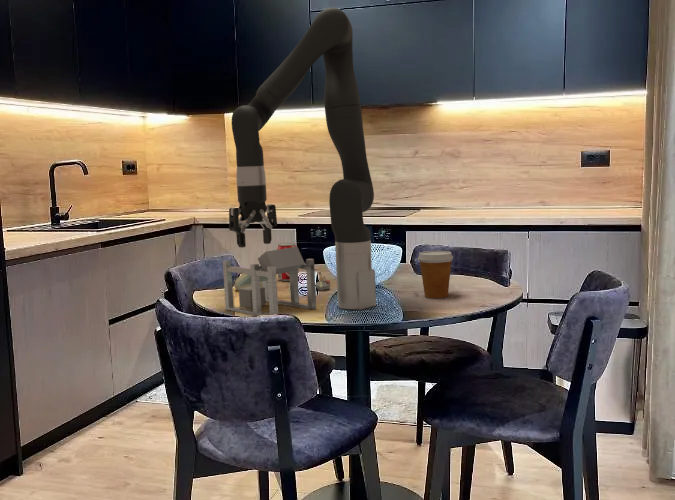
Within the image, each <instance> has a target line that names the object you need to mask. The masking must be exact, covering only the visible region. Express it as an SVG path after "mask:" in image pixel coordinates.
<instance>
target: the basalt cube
mask: <svg viewBox="0 0 675 500" xmlns="http://www.w3.org/2000/svg"><path fill="white" fill-rule="evenodd" d="M260 294H261V307H265V306H266V305H267V302H266V299H265V287H260ZM238 299H239V308H244V309H250V310H253V301H252V286H249V287H244V288H239V291H238Z"/></svg>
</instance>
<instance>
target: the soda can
mask: <svg viewBox="0 0 675 500" xmlns="http://www.w3.org/2000/svg"><path fill="white" fill-rule="evenodd" d="M292 247H297V243H296V242H282V243H277V247H276V250H279V249H285V248H292ZM297 270H298V273H299V274H300V269H297ZM277 279H279V281H281V282H290V272H286V273H280V274H277Z"/></svg>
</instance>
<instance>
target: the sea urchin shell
mask: <svg viewBox="0 0 675 500" xmlns="http://www.w3.org/2000/svg"><path fill="white" fill-rule="evenodd" d="M247 275H248V274H242V275H240V276H238V277H237V278H236V279H235V282H234V288H235V290H237V292H239V288H244V287H249V286H252V284H247V285H242V286H238V284H237V283H239V282H240V281H241V280H242V279H243V278H245V277H246V276H247ZM260 287H263V283H262V282H260Z"/></svg>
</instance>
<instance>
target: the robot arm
mask: <svg viewBox="0 0 675 500" xmlns="http://www.w3.org/2000/svg"><path fill="white" fill-rule="evenodd" d="M353 56H354V55H353V27H352V24H351V21H350V18H349V17H348V15H347V14H346V13H345V12H344V11H343V10H342V9H339V8H338V7H327V8H324V9H323V10H321V11H319V13H318V14H317V15H316V16H315V18H314V20H313V21H312V23H311V24H310V26H309V27H308V28H307V30H306V32H305V34H304V35H303V36H302V37H301V38H300V40H299V41H298V43H297V44H296V46H295V47H294V48H293V49H292V51H290V52H289V55H287V56H286V58H284V60H283V61H282V62H281V64H279V65H278V67H277V68H276V69H275V70H274V71H273V72H272V73H271V74H270V75H269V76H268V77H267V78H266V79H265V80H264V82H263V83H262V84H260V86H259V87H258V89H257V90H256V92H255V93H256V95H255V96H254V97H253V98H252V100H251V101H250V102H249V103H248V104H247V105H245V104H244V105H240V106H238V107H237V108H235V109H234V111H233V112H232V115H231V130H232V135H233V141H234V146H235V150H236V152H235V155H236V156H235V157H236V159H235V161H236V189H237V192H236V193H237V202H238V204H239V205H238V207H229V209H228V221H229V222H228V226H229V227H228V229H229V231H230V232H234V233H235V234H236V236H235V237H236V244H237V246H238V248H246V246H247V245H246V244H247V243H246V232H245V231H246V229H247V227H249V226H250V224H254V223H258V224H260V226H261V227H262V228H263V229H262V239H263V244H265V245H268V244H269V245H270V244H271V242H272V240H273V239H272V229H273V228H274V227H277V226H278V220H277V219H278V218H277V217H278V216H277V207H276V205H275V204H272V203H271V204H267V205H266V201H267V198H268V197H267V186H266V185H267V183H266V182H267V181H266V180H267V179H266V171H265V161H264V150H263V147H262V145H261V143H260V131H261V130H262V129H263V128H264V126H266V124H267V123H268V122H269V120H270V119H271V117H272V116H273V115H274V113H275V112H276V110H278V109H279V108H280V107H281V106H282V105H283V104H284V102H285V101H286V100H287V99H288V98H289V97H290V96H291V95H292V94H293V93H294V91H296V90H297V88H298V87H299V85H300V84H301V83H302V81H303V79H304V78H305V76H306V75H307V73H308V72H309V70H311V68H312V67H313V65H314V64H315V63H316V62H317V61H318V60H319V59H320V57H323V65H324V70H325V81H324V82H325V83H324V95H323V96H324V98H323V99H324V113H325V122H326V128H327V130H328V131H327V132H328V135H329V137H330V139H331V141H332V143H333V145H334V148H335V150H336V151H337V153H338V155H339V158H340V162H341V168H342V174H343V175H342V177H343V178H342V179H339V180H337V181H336V182H335V183H333V184H332V185H331V186H332V187H331V188H330V191H329V204H328V205H329V215H330V216H329V217H330V224H331V230H332V232H333V234H334V241H335V242H334V246H335V247H334V249H335V270H336V293H337V294H336V295H337V307H338V308H340V309H343V310H360V311H361V310H364V309H369V308H372V307H376V306H377V294H376V271H375V269H373V266H372V262H373V261H372V238H371V237H372V236H371V235H372V234H371V230H370V229H369V228H368V227H367V226H366V225H365V223H364V214H363V213H365V212H368V210H370V208H371V207H372V205H373V203H374V199H375V190H374V186H373V180H372V176H371V172H370V169H369V163H368V158H367V151H366V150H367V149H366V148H367V147H366V142H365V135H364V134H365V133H364V124H363V122H364V121H363V113H362V105H361V99H360V98H361V97H360V93H359V88H358V83H357V79H356V75H355V70H354V60H353V59H354V57H353ZM239 216H240V217H239Z"/></svg>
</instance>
